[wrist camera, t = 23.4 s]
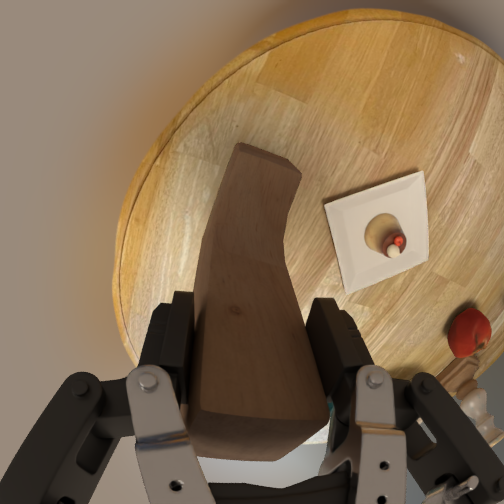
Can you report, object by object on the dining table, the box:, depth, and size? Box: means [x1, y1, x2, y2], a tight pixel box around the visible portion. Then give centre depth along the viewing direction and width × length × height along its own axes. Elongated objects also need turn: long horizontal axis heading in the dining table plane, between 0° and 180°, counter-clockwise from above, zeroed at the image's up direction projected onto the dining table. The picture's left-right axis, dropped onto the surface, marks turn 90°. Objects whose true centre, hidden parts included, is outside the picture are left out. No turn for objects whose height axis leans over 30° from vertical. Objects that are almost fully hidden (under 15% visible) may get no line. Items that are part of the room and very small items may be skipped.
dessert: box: [324, 171, 429, 295], centre depth 27 cm, size 12×12×5 cm
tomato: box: [447, 308, 491, 358], centre depth 36 cm, size 9×9×8 cm
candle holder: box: [436, 355, 504, 447], centre depth 39 cm, size 11×11×24 cm
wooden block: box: [180, 142, 330, 461], centre depth 15 cm, size 9×4×18 cm, turn 159°
